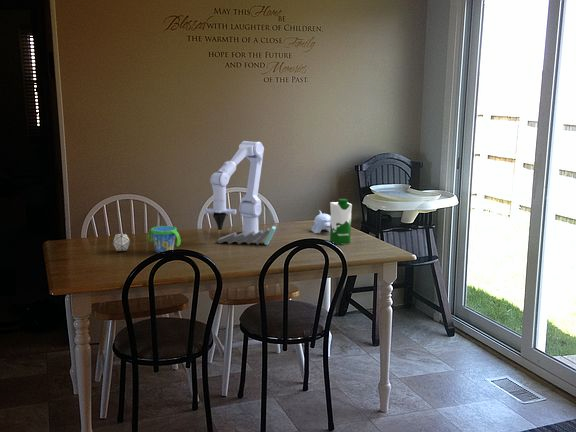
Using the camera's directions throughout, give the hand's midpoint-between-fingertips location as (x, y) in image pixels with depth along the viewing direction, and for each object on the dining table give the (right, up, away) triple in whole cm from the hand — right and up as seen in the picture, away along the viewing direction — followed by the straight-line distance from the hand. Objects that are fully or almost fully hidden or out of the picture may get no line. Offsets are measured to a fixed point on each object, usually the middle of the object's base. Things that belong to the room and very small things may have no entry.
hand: (220, 229), depth 281 cm
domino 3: (+8, -5, 0) cm, 10 cm away
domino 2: (+4, -5, 0) cm, 7 cm away
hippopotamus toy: (+48, -2, +24) cm, 54 cm away
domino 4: (+13, -6, -1) cm, 14 cm away
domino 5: (+17, -6, -1) cm, 18 cm away
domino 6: (+21, -6, -1) cm, 22 cm away
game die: (-40, -9, -16) cm, 44 cm away
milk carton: (+54, -6, +3) cm, 54 cm away
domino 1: (0, -5, +1) cm, 5 cm away
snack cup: (-22, -9, -16) cm, 29 cm away
